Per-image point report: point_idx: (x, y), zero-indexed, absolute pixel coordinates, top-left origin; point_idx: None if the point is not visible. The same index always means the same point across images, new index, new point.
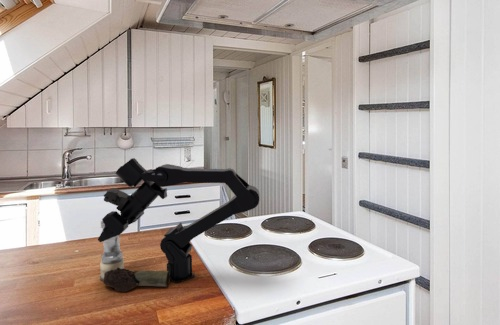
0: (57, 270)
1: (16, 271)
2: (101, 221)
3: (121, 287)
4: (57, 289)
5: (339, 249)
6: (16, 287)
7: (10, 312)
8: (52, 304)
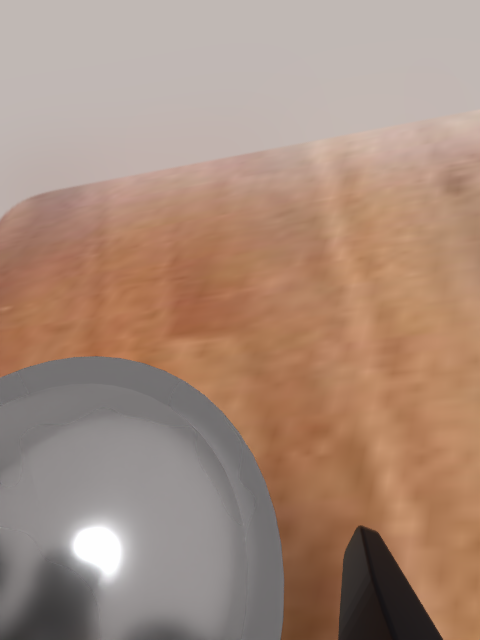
0: (356, 261)
1: (377, 152)
2: (112, 369)
3: None
4: (165, 287)
5: None
6: (239, 177)
7: (61, 199)
8: (43, 291)
